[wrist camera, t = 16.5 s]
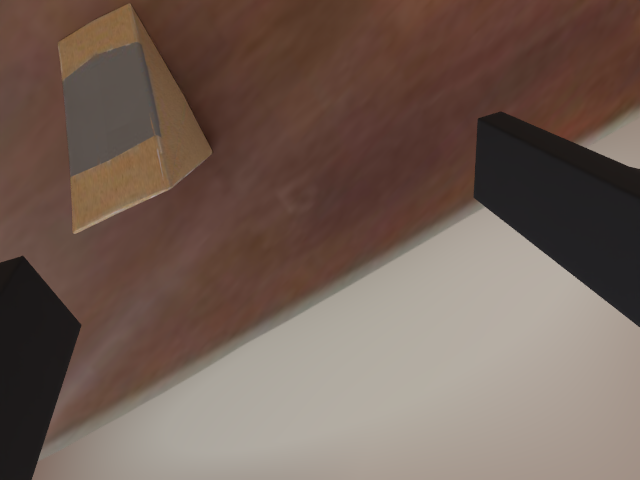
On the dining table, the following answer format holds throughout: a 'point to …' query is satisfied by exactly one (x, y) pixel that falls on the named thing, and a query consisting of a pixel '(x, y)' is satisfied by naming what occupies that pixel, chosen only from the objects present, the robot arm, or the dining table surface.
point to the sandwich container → (123, 119)
